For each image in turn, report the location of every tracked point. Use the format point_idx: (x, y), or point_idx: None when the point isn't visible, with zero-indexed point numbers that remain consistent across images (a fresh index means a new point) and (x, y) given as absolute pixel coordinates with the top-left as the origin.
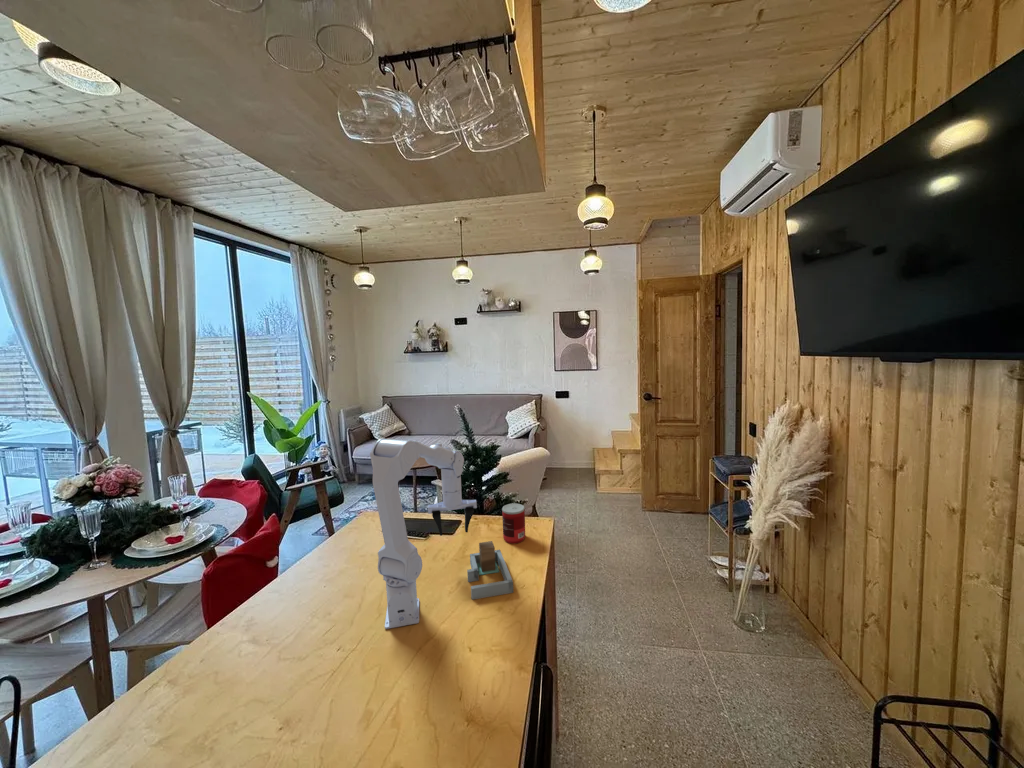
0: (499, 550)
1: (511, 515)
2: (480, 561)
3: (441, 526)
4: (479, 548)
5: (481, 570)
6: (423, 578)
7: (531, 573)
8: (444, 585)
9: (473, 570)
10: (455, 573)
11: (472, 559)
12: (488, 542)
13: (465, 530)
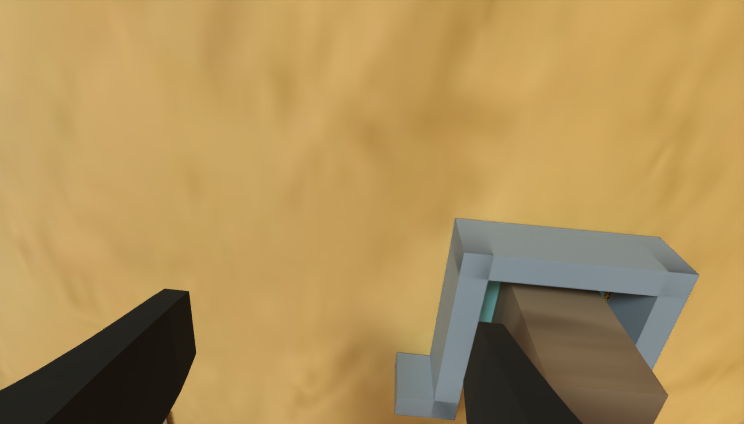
0: (688, 283)
1: None
2: (506, 317)
3: (144, 347)
4: (533, 357)
5: (490, 319)
6: (164, 265)
7: (718, 408)
8: (277, 352)
9: (428, 412)
10: (344, 282)
11: (458, 319)
12: (625, 406)
13: (467, 394)
